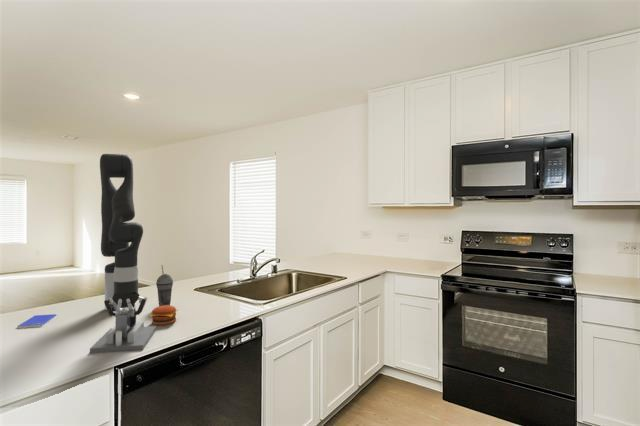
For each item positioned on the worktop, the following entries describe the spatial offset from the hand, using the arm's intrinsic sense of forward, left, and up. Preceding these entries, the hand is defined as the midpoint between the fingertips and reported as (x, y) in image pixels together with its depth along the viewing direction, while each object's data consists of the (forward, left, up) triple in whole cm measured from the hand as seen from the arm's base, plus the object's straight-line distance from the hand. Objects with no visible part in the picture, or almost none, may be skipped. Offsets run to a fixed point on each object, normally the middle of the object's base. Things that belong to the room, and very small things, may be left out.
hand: (126, 326), depth 123 cm
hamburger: (-18, +9, -5) cm, 21 cm away
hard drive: (-26, -40, -6) cm, 48 cm away
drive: (0, 0, -2) cm, 2 cm away
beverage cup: (-38, +5, -5) cm, 39 cm away
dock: (0, 0, -5) cm, 5 cm away
